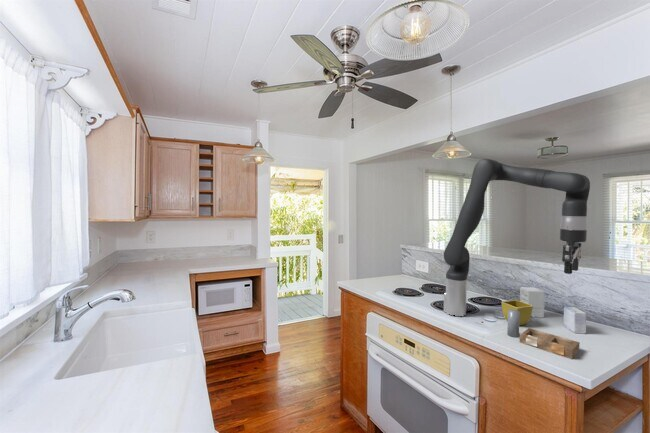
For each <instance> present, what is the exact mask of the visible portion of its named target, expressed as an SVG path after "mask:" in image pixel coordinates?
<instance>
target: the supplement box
mask: <svg viewBox="0 0 650 433" xmlns="http://www.w3.org/2000/svg"><path fill="white" fill-rule="evenodd" d="M545 294H546V292H545V291H544V290H542V289H540V288H537V287H535V286H534V287H533V286H532V287H530V286H529V287H528V286H527V287H524V286H521V287H520V294H519V295H520V296H519V297H520V298H519V299H520V300H519V301H520V302H523V303H526V304H529V305H532V306H533V309H532V314H531V316H537V317H536V318H545Z"/></svg>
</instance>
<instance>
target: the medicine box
mask: <svg viewBox="0 0 650 433" xmlns="http://www.w3.org/2000/svg"><path fill="white" fill-rule="evenodd" d="M563 326H564V327H565V328H567V329H568V330H569V331H571V332H573V333H574V334H584V335H586V333H587V313H586V312H584V311H582V310H581V309H578V308H577V307H574V306H564V307H563Z"/></svg>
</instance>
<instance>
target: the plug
mask: <svg viewBox="0 0 650 433" xmlns="http://www.w3.org/2000/svg"><path fill="white" fill-rule="evenodd" d="M519 317H520V312H519V311H517V310H512V309H509V310H508V321H507V327H506V328H507V334H506V335H507V336H509V337H511V338H520V325H519Z"/></svg>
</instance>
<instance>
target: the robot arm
mask: <svg viewBox="0 0 650 433" xmlns="http://www.w3.org/2000/svg"><path fill="white" fill-rule="evenodd" d="M490 181H509V182H514V183H519V184H523V185H527V186H530V187H531V186H532V187H537V188H542V189H552V190H556V191H560V192H561V191H562V192H565V200H564V201H563V202H562V206H561V218H560V227H559V230H560V231H559V240H560V241H561V242H566V243H565V244H564V245H562V258H561V261H562V262H563V263H564V264H563V266H564V267H563V273H564V274H568V275H572V274H573V271H576V272H577V271H579V262H580V259H582V243H586V242H587V236H588V235H587V233H588V220H587V217H588V216H587V214H588V213H587V212H588V205H587V204H588V200H589V195H590V190H591V182H590V179H589V178H588V176H587V175H584V174H581V173H575V172H564V171H555V170H551V169H546V168H539V167H538V168H537V167H519V166H514V165H508V164H506V163H505V164H504V163H502V162H499V161H497V160H494V159H491V158H482V159H480V160H479V161H477V163H475V165H474V168H473V171H472V175H471V180H470V184H469V187H468V190H467V193H466V195H465V198H464V200H463V203H462V207H461V209H460V211H459V214H458V217H457V220H456V222H455V226H454V228H453V231H452V235H451V236H450V239H449V241H448V243H447V245H446V247H445V249H444V251H443V259H444V261H445V263H446V264H447V265H449V268H448V269H447V271H446V273H445V274H446V276H445V292H444V293H443V313H445V312H446V313H445V314H447V315H449V314H450V315H449V316H451V315H455V316H454V317H457V316H462V317H464V316H463V315H465V316H466V315H467V292H468V291H467V287H468V284H467V281H468V275H469V272H470V256H471V255H470V252H469V249H468V248H467V247H466V244H467V242H468V240H469V239H470V237H471V236H472V234H474V232H475V231H476V229H477V228H478V227H479V225H480V222H481V220H482V216H483V214H484V212H485V211H484V210H485V196H486V191H487V188H488V186H489V184H490Z"/></svg>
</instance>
